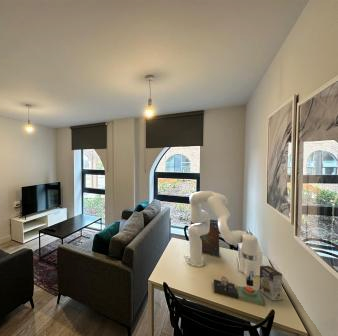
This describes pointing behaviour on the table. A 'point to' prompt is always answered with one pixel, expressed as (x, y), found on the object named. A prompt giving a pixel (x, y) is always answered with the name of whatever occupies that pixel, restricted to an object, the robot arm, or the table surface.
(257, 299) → the button housing
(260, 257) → the gable box
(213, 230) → the decorative book
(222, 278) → the dial
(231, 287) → the control panel
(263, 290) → the coffee box
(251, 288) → the button
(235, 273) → the table surface
